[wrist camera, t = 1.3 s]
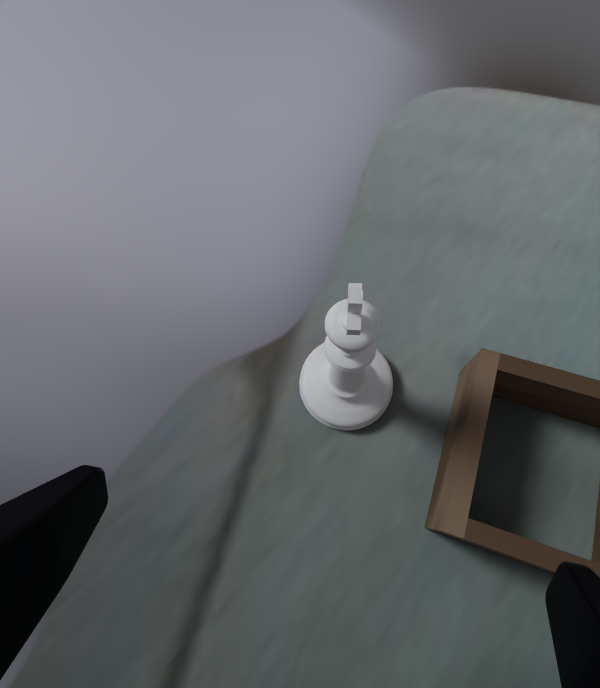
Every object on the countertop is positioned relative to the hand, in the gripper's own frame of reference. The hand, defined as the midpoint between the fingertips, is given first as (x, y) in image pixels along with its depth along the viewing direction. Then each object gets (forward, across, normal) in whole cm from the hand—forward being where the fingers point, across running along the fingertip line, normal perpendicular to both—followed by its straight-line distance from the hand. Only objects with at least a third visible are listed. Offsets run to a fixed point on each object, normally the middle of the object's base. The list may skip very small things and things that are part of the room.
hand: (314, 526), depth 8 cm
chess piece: (+14, 0, +5) cm, 15 cm away
